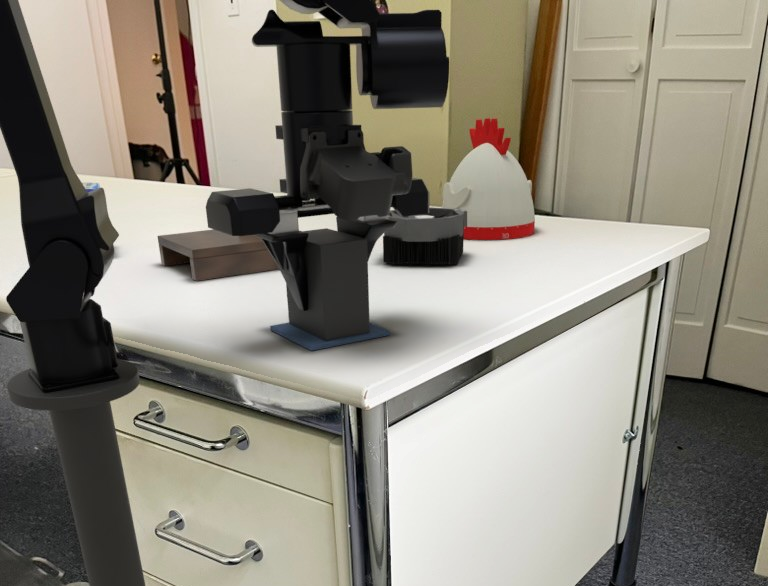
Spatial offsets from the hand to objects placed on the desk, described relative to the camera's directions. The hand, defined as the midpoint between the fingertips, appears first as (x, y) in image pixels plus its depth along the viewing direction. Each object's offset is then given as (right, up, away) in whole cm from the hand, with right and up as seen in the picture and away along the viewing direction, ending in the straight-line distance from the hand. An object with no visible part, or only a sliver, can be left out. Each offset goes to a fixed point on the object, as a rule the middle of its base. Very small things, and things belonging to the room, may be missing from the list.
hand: (327, 306), depth 72 cm
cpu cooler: (+10, +13, +30) cm, 34 cm away
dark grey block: (0, -2, +1) cm, 2 cm away
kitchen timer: (+20, +23, +47) cm, 56 cm away
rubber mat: (0, -2, +1) cm, 2 cm away
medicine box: (-34, +17, +38) cm, 54 cm away
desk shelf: (-15, +12, +28) cm, 34 cm away
